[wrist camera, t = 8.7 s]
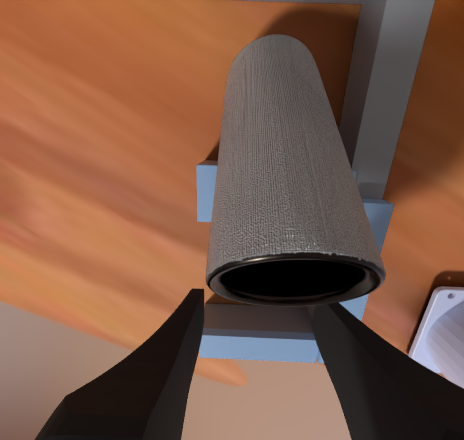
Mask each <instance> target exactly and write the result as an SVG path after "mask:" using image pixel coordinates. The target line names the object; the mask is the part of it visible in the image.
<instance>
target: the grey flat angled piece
mask: <svg viewBox="0 0 464 440" xmlns="http://www.w3.org/2000/svg"><path fill="white" fill-rule="evenodd" d="M244 1H274V2H303V3H332V4H361V8H360V13H359V19H358V25H357V30H356V36H355V41H354V47H353V52H352V58H351V63H350V69H349V75H348V80H347V86H346V91H345V97H344V102H343V108H342V113H341V119H340V125H339V133H340V136H341V139H342V142H343V145H344V148H345V151H346V154H347V157H348V160H349V163H350V166H351V169H352V170H353V171H357V174H356V179H355V181H356V184H357V187H358V190H359V193H360V196H361V199H383V195H384V191H385V187H386V184H387V180H388V176H389V172H390V168H391V165H392V161H393V157H394V153H395V150H396V146H397V142H398V138H399V135H400V131H401V127H402V123H403V119H404V116H405V112H406V108H407V104H408V101H409V97H410V93H411V89H412V85H413V82H414V78H415V74H416V70H417V67H418V63H419V59H420V55H421V52H422V48H423V44H424V40H425V36H426V33H427V29H428V25H429V21H430V18H431V14H432V10H433V6H434V3H435V0H244ZM199 164H214V165H217V164H218V161H215V160H204V161H203V162H201V163H199ZM314 309H315V306H307V308H301V307H277V306H256V305H233V304H211V303H205V308H204V326H203V328H212V329H234V330H256V331H278V332H300V333H313V329H312V320H313V314H314Z"/></svg>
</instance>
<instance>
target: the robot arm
mask: <svg viewBox="0 0 464 440" xmlns="http://www.w3.org/2000/svg"><path fill="white" fill-rule="evenodd" d="M203 326H204V289H192V290H190V292H189V293H188V295H187V296H186V298H185V299H184V300H183V301H182V303H181V304H180V305H179V307H178V308H177V309H176V310H175V311H174V313H173V314H172V315H171V316H170V317H169V318H168V319H167V320H166V322H165V323H164V324H163V325H162V326H161V327H160V328H159V329H158V330H157V331H156V332H155V333H154V334H153V335H152V336H151V337H150V338H149V339H147V340H146V341H145V342H144V343H143V344H142V345H141V346H139V347H138V348H137V349H136V350H135V351H133V352H132V353H131V354H130V355H128V356H127V357H126V358H125V359H123V360H122V361H121V362H119V363H118V364H116V365H115V366H114V367H112V368H111V369H109V370H108V371H106V372H105V373H103V374H102V375H100V376H99V377H97V378H96V379H94V380H92V381H91V382H89V383H87V384H86V385H84V386H83V387H81V388H79V389H77V390H76V391H74V392H72V393H70V394H69V395H67V396H65V398H64V399H63V400H62V402H61V403H60V404H59V405H58V407H57V408H56V409H55V411H54V412H53V413H52V415H51V416H50V418H49V419H48V421H47V422H46V423H45V425H44V427H43V428H42V429H41V431H40V432H39V434H38V435H37V437H36V438H35V440H181V435H182V429H183V423H184V417H185V411H186V404H187V398H188V393H189V388H190V384H191V380H192V376H193V372H194V368H195V364H196V360H197V356H198V352H199V348H200V344H201V340H202V333H203ZM312 329H313V333H314V337H315V340H316V343H317V346H318V349H319V351H320V354H321V356H322V359H323V361H324V364H325V366H326V368H327V371H328V373H329V376H330V378H331V381H332V383H333V385H334V388H335V390H336V393H337V395H338V398H339V401H340V404H341V407H342V410H343V413H344V416H345V419H346V422H347V425H348V429H349V432H350V436H351V439H352V440H464V287H444V286H442V287H438V288H436V289H435V290H434V291H433V294H432V296H431V299H430V301H429V304H428V306H427V309H426V311H425V314H424V316H423V319H422V321H421V324H420V326H419V329H418V331H417V334H416V336H415V339H414V341H413V344H412V346H411V349H410V352H409V354H408V356H407V355H406V354H404V353H403V352H401V351H400V350H398V349H397V348H395V347H394V346H392V345H391V344H390V343H388V342H387V341H386V340H384V339H383V338H382V337H380V336H379V335H378V334H376V333H375V332H374V331H372V330H371V329H370V328H369V327H367V326H366V325H365V324H364V323H362V322H361V321H360V320H359V319H358V318H356V317H355V316H354V315H353V314H352V313H350V312H349V311H348V310H347V309H346V308H345V307H343V306H342V305H341V304H340V303H339V302H338V303H333V304H325V305H316V306H315V309H314V314H313V320H312ZM437 373H442V374H443V375H444V376H445V377H446V378H447V379H448V380H447V379H445V378H443V377H442V376H440V375H438V374H437Z"/></svg>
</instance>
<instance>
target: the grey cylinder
mask: <svg viewBox="0 0 464 440" xmlns="http://www.w3.org/2000/svg"><path fill="white" fill-rule="evenodd" d="M385 277H386V272H385V269H384V265H383V262H382V259H381V256H380V253H379V250H378V247H377V244H376V241H375V238H374V235H373V232H372V229H371V226H370V223H369V220H368V217H367V214H366V211H365V208H364V205H363V202H362V199H361V196H360V193H359V190H358V187H357V184H356V181H355V178H354V175H353V172H352V169H351V166H350V163H349V160H348V157H347V154H346V151H345V148H344V145H343V142H342V139H341V136H340V133H339V130H338V127H337V124H336V121H335V118H334V115H333V112H332V109H331V106H330V103H329V100H328V97H327V94H326V91H325V88H324V85H323V82H322V79H321V76H320V73H319V70H318V67H317V65H316V62H315V60H314V58H313V56H312V54H311V52H310V51H309V49H308V48H307V47H306V46H305V45H304V44H303V43H302V42H300V41H299V40H297V39H295V38H293V37H291V36H288V35H282V34H272V35H267V36H263V37H260V38H258V39H256V40H254V41H252V42H251V43H249V44H248V45H247V46H246V47H244V48H243V49H242V50H241V51H240V52H239V54H238V55H237V56H236V58H235V59H234V61H233V63H232V65H231V67H230V70H229V73H228V77H227V82H226V89H225V98H224V107H223V117H222V126H221V136H220V145H219V154H218V164H217V173H216V182H215V192H214V201H213V211H212V220H211V229H210V239H209V248H208V258H207V267H206V283H207V285H208V287H209V288H210V289H211V290H212V291H213V292H214V293H216V294H218V295H220V296H222V297H224V298H227V299H230V300H233V301H237V302H242V303H247V304H254V305H262V306H277V307H300V306H316V305H325V304H333V303H338V302H344V301H348V300H352V299H356V298H359V297H362V296H364V295H367V294H369V293H371V292H373V291H375V290H376V289H378V288H379V287H380V286H381V285H382V284H383V282H384V280H385Z"/></svg>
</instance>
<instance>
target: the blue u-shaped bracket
mask: <svg viewBox="0 0 464 440" xmlns="http://www.w3.org/2000/svg"><path fill="white" fill-rule="evenodd" d="M352 172H353V175H354V178H355V179H356V174H357V171H353V170H352ZM216 173H217V165H214V164H198V165H197V221H199V222H211V220H212V211H213V201H214V192H215V182H216ZM362 202H363V205H364V208H365V211H366V214H367V217H368V220H369V223H370V226H371V229H372V232H373V235H374V238H375V241H376V244H377V247H378V250H379V253H381V250H382V246H383V243H384V239H385V236H386V232H387V229H388V225H389V222H390V218H391V215H392V211H393V207H394V204H392V203H390V202H387V201H385V200H382V199H362ZM368 295H369V294H367V295H364V296H362V297H359V298H356V299H352V300H348V301H344V302H339V303H340V304H341V305H342V306H343V307H345V308H346V309H347V310H348V311H349V312H350V313H352V314H353V315H354V316H355V317H356V318H358V319H359V320H360V321H361V320H362V316H363V313H364V309H365V306H366V302H367V299H368ZM199 357H201V358H222V359H244V360H267V361H287V362H309V363H315V362H316V358H317V360H318V363H324V361H323V359H322V356H321V354H320V351H319V349H318V346H317V343H316V340H315V337H314V333H300V332H278V331H256V330H234V329H212V328H203V333H202V340H201V344H200V348H199Z"/></svg>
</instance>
